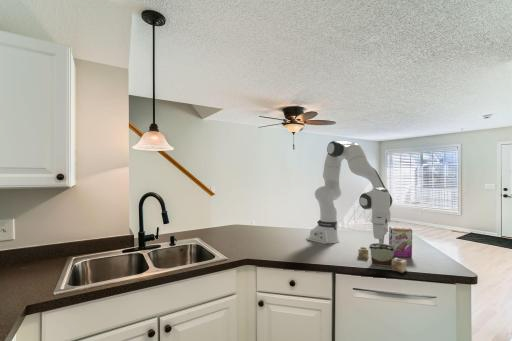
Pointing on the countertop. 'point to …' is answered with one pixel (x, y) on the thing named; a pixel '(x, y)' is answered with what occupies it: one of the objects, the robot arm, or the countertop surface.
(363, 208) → the robot arm
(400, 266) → the labelled block
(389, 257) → the food container
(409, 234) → the candy bar box
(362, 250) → the labelled block
